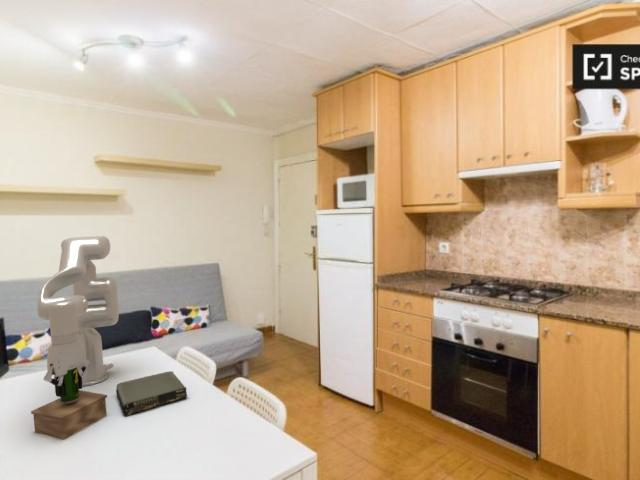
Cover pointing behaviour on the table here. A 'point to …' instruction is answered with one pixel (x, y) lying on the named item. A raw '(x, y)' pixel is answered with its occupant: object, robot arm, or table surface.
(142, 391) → the network switch
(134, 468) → the table surface
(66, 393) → the beer can
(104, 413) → the wooden block
